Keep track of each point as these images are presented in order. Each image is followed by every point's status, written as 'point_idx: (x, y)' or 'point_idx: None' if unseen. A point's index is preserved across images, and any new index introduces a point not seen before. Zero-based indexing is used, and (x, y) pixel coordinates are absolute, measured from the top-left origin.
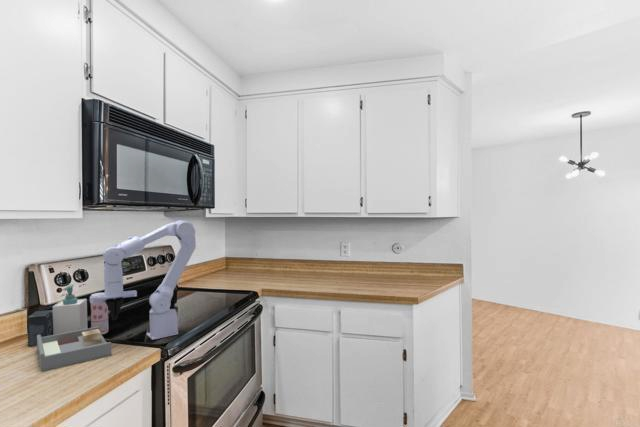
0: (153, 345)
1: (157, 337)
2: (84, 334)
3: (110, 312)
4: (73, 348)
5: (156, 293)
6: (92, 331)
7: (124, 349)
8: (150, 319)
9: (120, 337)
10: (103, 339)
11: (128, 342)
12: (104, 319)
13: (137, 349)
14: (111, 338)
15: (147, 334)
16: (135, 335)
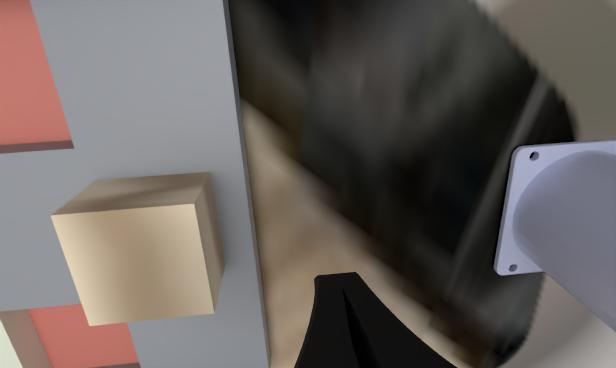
0: (464, 336)
1: (526, 269)
2: (88, 292)
3: (310, 332)
4: (60, 276)
5: None
6: (146, 250)
7: None
8: (604, 297)
9: (362, 91)
10: (241, 207)
11: (380, 226)
12: None
13: None
14: (304, 72)
15: (512, 179)
16: (454, 112)
